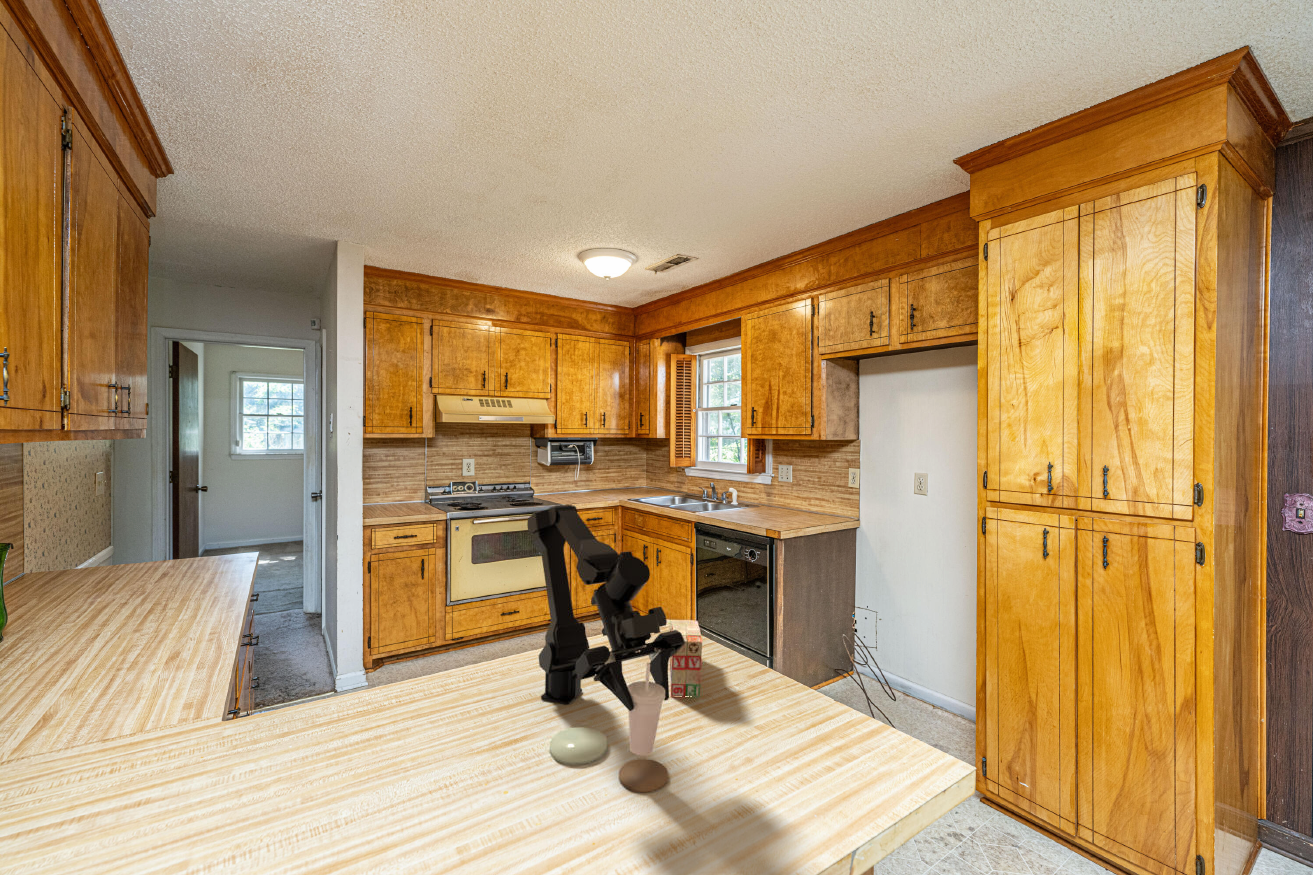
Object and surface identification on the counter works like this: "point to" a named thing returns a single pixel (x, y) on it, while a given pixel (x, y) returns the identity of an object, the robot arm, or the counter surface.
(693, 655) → the stack of blocks
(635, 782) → the disc
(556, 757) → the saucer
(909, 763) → the counter surface
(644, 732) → the smoothie
